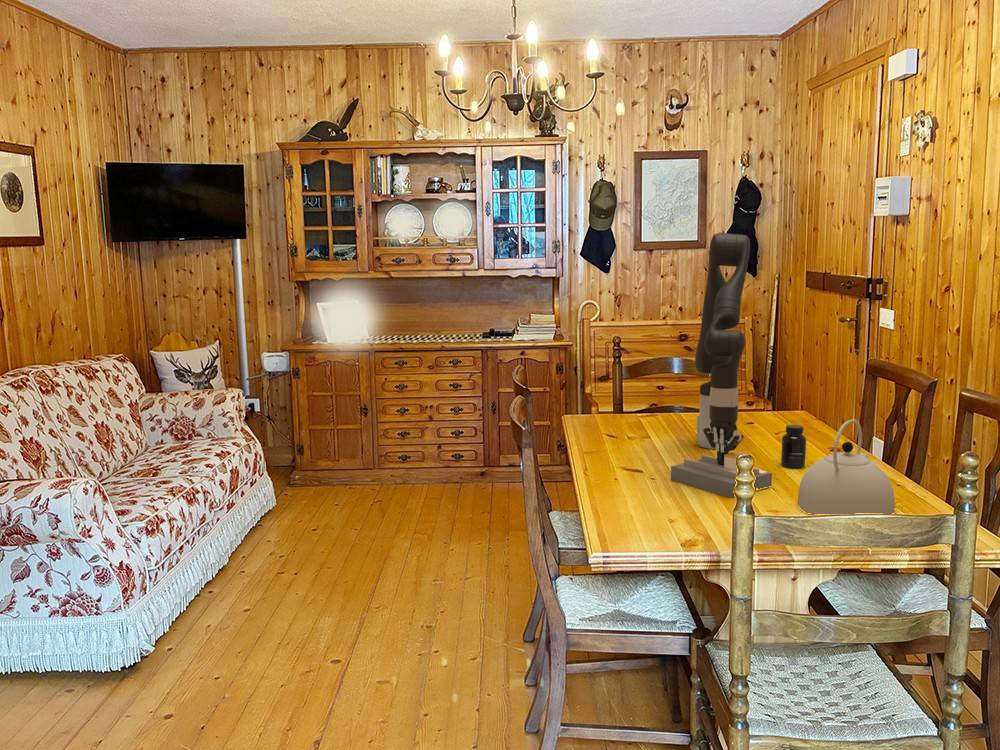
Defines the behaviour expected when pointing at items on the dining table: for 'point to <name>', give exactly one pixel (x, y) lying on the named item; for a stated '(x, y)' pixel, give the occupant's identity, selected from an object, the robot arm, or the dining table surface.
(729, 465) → the handle
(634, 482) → the dining table surface
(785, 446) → the supplement bottle
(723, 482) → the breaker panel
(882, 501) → the kettle
